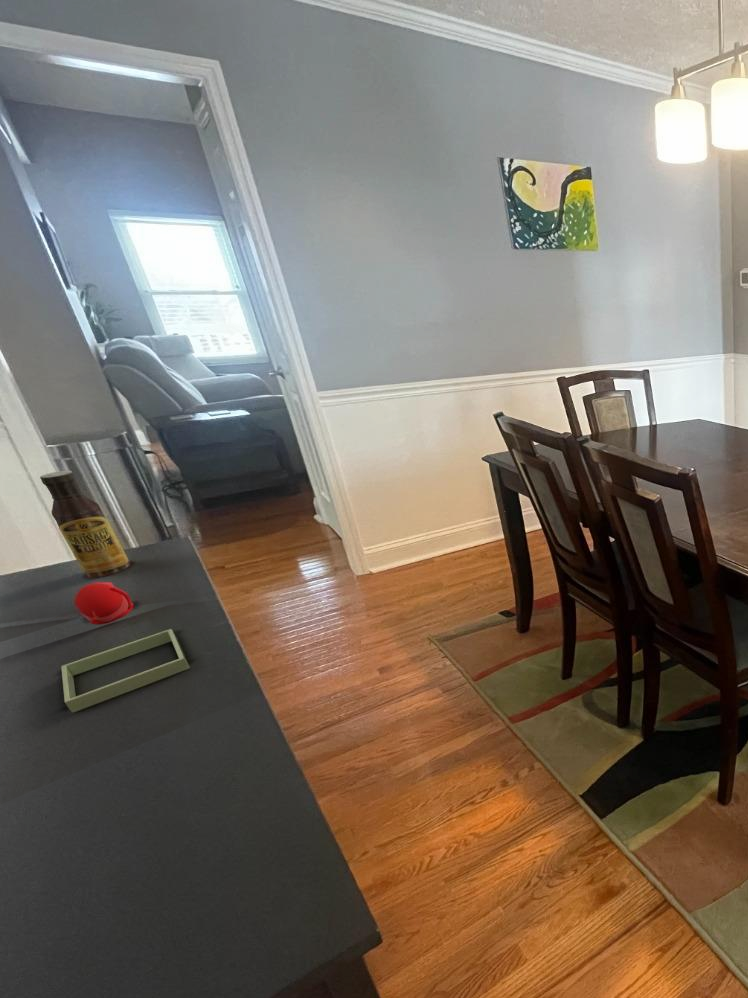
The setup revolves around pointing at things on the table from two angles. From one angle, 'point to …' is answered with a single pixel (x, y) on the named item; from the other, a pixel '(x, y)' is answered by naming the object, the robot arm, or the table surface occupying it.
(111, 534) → the sauce bottle
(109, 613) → the cap
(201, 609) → the table surface
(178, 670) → the frame
